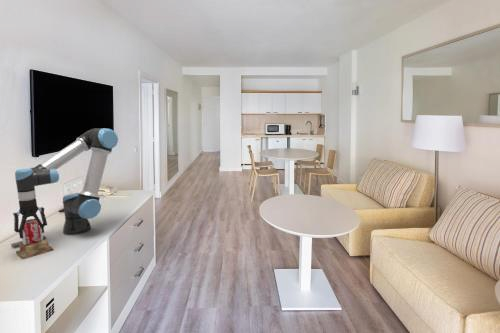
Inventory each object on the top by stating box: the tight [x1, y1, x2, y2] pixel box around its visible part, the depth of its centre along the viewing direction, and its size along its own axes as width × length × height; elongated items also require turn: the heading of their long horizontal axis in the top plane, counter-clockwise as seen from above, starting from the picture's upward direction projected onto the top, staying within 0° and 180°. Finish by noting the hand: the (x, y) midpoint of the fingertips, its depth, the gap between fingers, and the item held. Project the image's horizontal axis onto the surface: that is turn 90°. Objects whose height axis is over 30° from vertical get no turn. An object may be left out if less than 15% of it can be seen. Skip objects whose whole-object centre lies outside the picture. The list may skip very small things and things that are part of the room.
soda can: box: [23, 218, 41, 244], centre depth 177 cm, size 7×7×12 cm
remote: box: [10, 235, 47, 249], centre depth 192 cm, size 16×4×2 cm, turn 142°
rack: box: [15, 240, 54, 260], centre depth 179 cm, size 14×12×6 cm
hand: (33, 241), depth 178 cm, fingers closed on soda can, 7 cm apart
